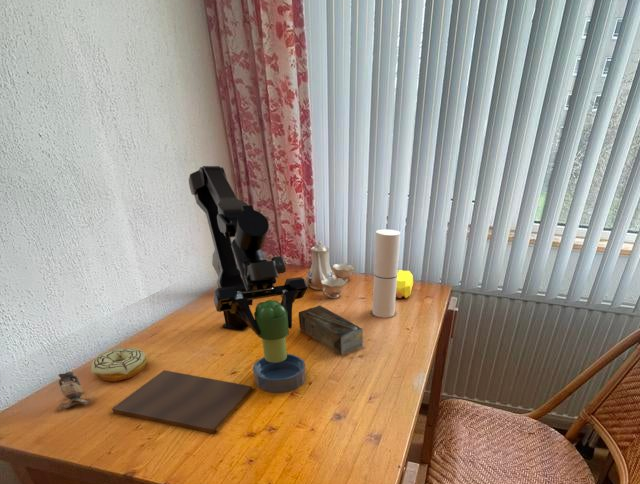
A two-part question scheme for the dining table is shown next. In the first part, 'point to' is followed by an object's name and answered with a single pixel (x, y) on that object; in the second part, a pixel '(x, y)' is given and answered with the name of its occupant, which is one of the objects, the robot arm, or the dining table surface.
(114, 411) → the board
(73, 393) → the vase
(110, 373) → the decorated donut
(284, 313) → the broccoli
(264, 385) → the bowl
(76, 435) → the dining table surface
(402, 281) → the orange-capped yellow polyhedron
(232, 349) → the dining table surface
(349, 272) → the chinaware
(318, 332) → the beverage carton
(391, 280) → the cylindrical container
